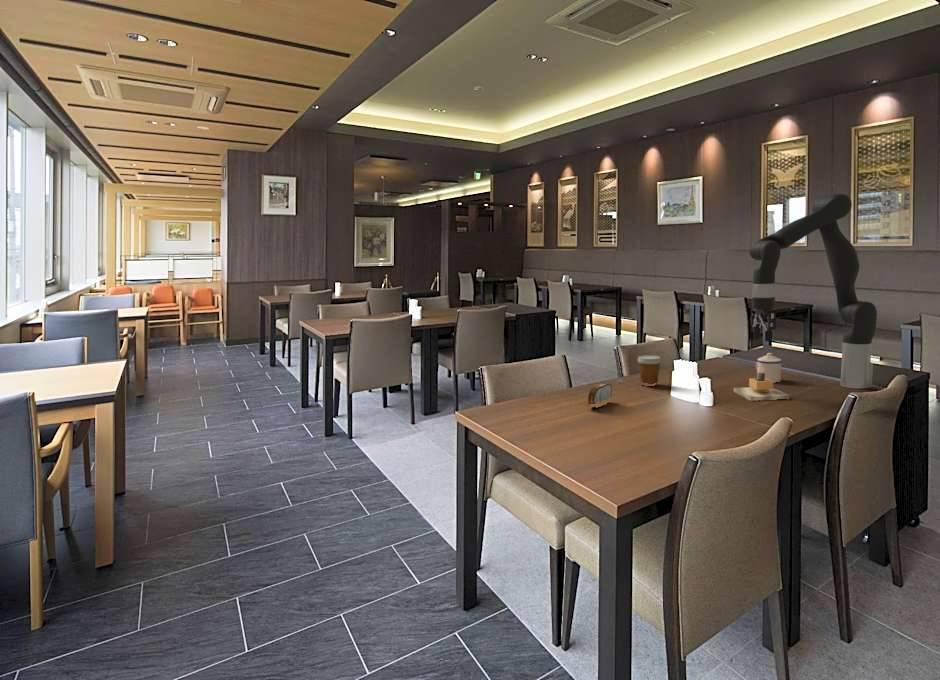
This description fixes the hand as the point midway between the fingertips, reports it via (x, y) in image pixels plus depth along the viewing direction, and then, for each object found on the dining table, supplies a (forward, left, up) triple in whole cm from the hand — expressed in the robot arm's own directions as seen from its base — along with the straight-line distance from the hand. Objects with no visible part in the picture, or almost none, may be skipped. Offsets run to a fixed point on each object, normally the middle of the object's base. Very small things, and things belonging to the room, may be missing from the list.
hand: (762, 339), depth 209 cm
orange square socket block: (0, 0, -18) cm, 18 cm away
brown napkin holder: (+61, +6, -22) cm, 65 cm away
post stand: (0, 0, -21) cm, 21 cm away
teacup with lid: (-14, -24, -22) cm, 35 cm away
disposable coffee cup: (+35, -23, -22) cm, 47 cm away
